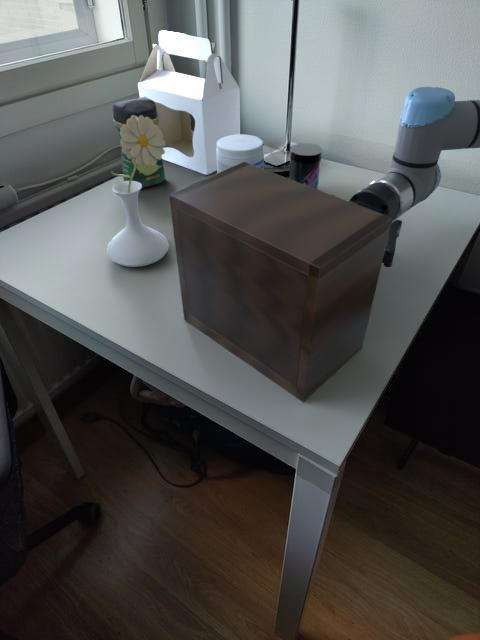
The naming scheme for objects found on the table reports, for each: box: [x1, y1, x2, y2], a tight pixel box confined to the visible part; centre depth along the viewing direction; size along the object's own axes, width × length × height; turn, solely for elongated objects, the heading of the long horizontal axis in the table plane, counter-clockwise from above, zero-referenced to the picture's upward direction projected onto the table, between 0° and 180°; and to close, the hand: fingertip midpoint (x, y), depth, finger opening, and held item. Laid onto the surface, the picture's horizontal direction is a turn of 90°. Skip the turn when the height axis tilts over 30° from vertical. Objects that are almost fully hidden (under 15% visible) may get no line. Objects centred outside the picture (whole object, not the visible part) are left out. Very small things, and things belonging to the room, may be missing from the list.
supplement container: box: [288, 143, 323, 190], centre depth 102 cm, size 7×7×10 cm
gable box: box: [137, 30, 241, 176], centre depth 113 cm, size 22×13×28 cm, turn 50°
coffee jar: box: [112, 97, 166, 189], centre depth 105 cm, size 10×8×19 cm
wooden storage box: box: [168, 162, 392, 403], centre depth 64 cm, size 24×14×22 cm, turn 46°
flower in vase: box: [106, 115, 170, 268], centre depth 79 cm, size 13×11×25 cm
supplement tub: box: [216, 133, 265, 174], centre depth 95 cm, size 10×10×15 cm
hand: (302, 255), depth 67 cm, fingers open, 13 cm apart
